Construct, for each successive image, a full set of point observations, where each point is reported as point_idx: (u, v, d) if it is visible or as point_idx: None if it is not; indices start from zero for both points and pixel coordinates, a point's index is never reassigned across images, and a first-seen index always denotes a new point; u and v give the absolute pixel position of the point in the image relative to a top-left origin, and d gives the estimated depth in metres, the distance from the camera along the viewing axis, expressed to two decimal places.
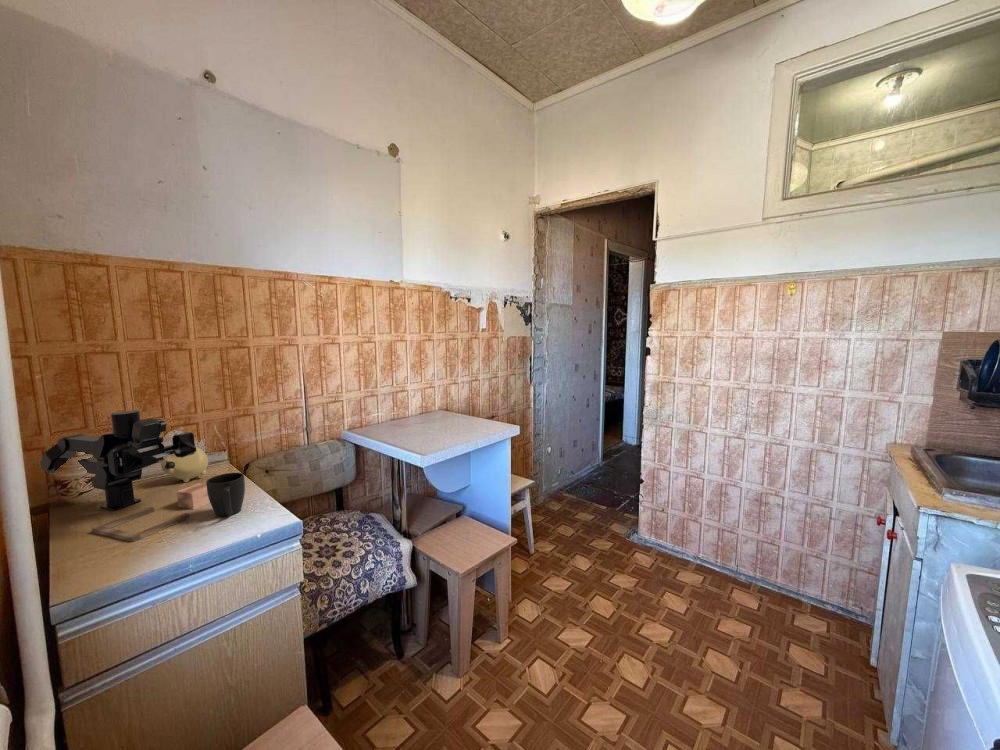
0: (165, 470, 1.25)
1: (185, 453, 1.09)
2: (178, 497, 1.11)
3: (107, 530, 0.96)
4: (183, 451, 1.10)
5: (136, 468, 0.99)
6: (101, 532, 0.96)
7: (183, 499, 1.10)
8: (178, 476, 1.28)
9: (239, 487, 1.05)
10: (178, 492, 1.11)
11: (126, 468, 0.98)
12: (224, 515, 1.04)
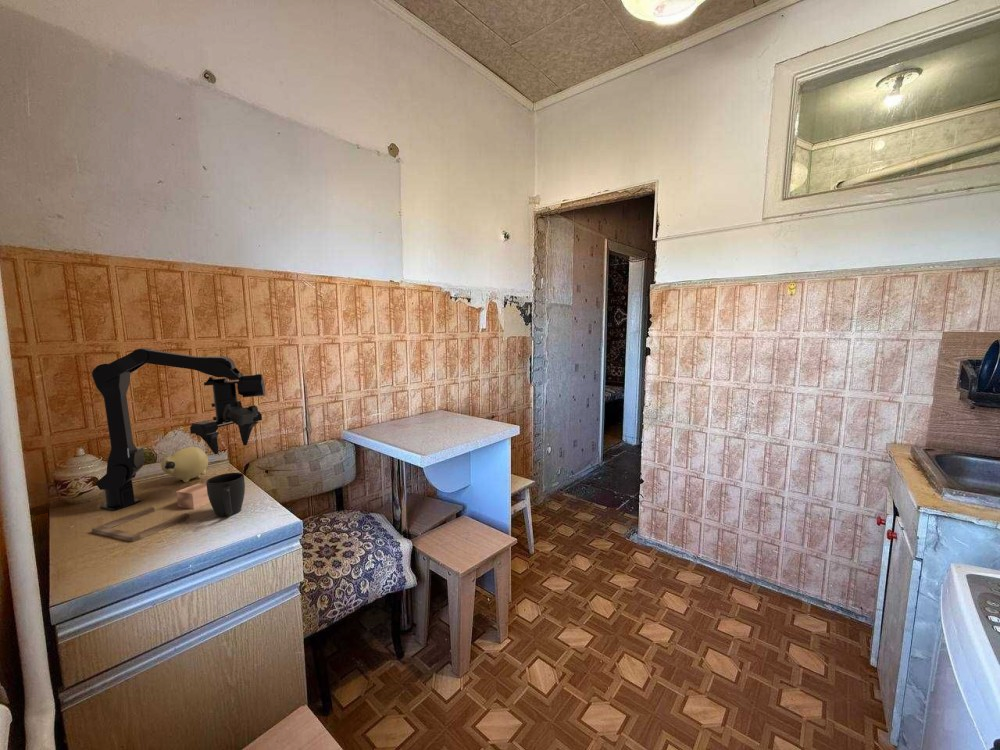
0: (165, 470, 1.25)
1: (240, 431, 1.27)
2: (178, 497, 1.11)
3: (107, 530, 0.96)
4: (241, 428, 1.27)
5: (203, 438, 1.17)
6: (101, 532, 0.96)
7: (183, 499, 1.10)
8: (178, 476, 1.28)
9: (239, 487, 1.05)
10: (178, 492, 1.11)
11: None
12: (224, 515, 1.04)
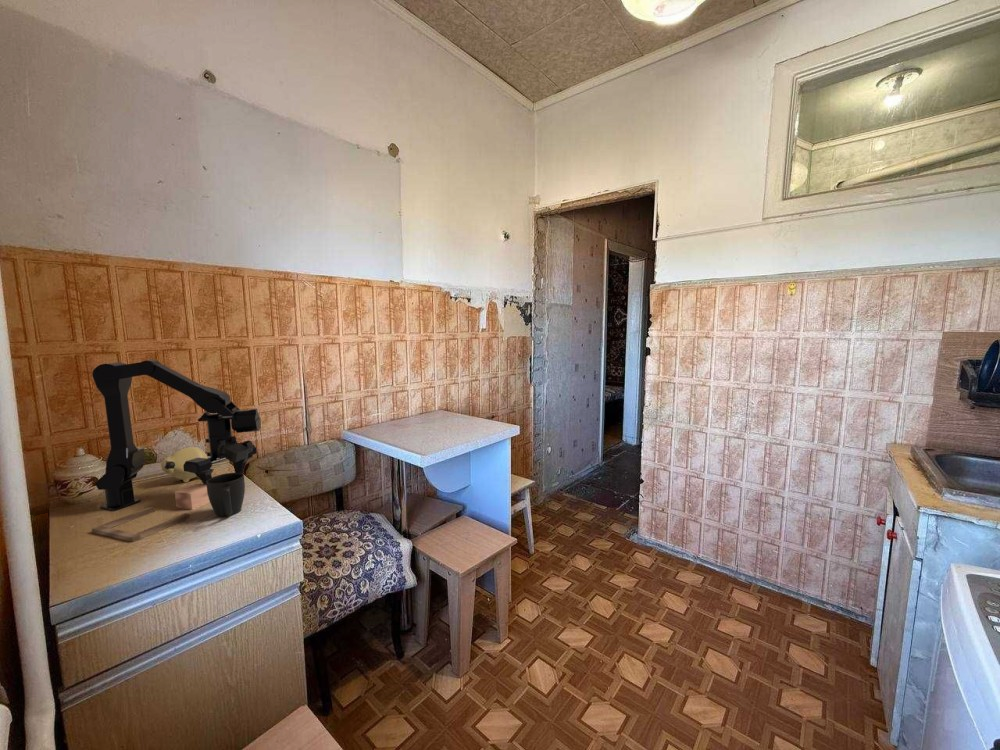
0: (165, 470, 1.25)
1: (234, 465, 1.25)
2: (176, 497, 1.11)
3: (107, 530, 0.96)
4: (235, 462, 1.25)
5: (198, 475, 1.15)
6: (101, 532, 0.96)
7: (182, 499, 1.10)
8: (178, 476, 1.28)
9: (239, 487, 1.05)
10: (176, 492, 1.10)
11: None
12: (224, 515, 1.04)
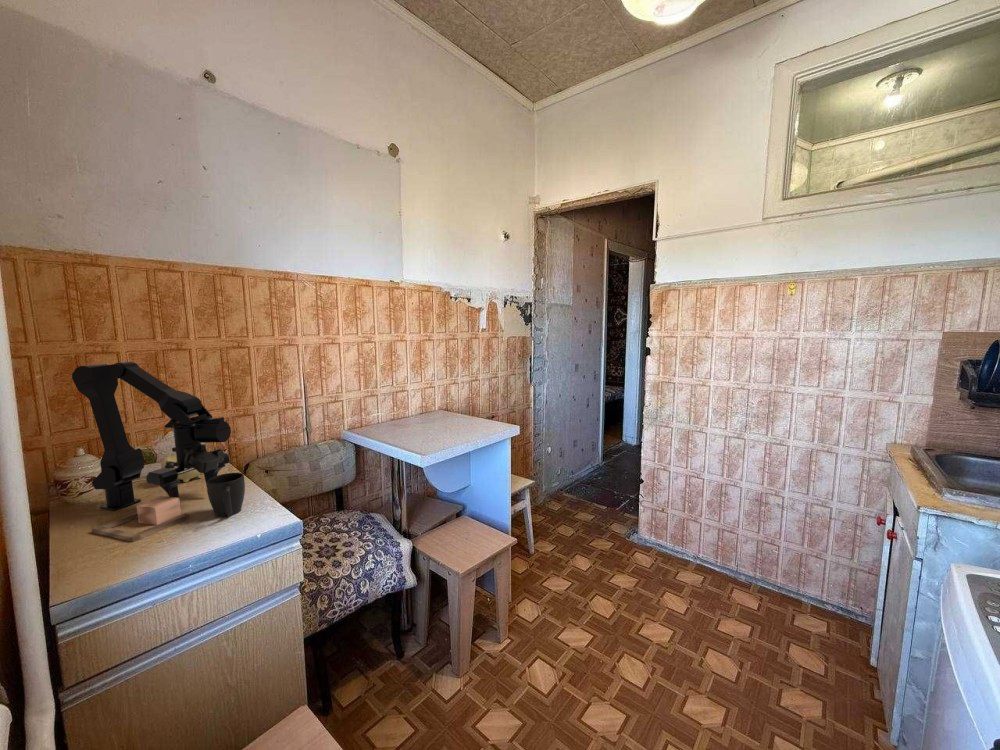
0: None
1: (205, 475, 1.17)
2: (139, 512, 1.02)
3: (107, 530, 0.96)
4: (206, 472, 1.17)
5: (163, 487, 1.07)
6: (101, 532, 0.96)
7: (145, 514, 1.01)
8: (178, 476, 1.28)
9: (239, 487, 1.05)
10: (138, 506, 1.01)
11: None
12: (224, 515, 1.04)
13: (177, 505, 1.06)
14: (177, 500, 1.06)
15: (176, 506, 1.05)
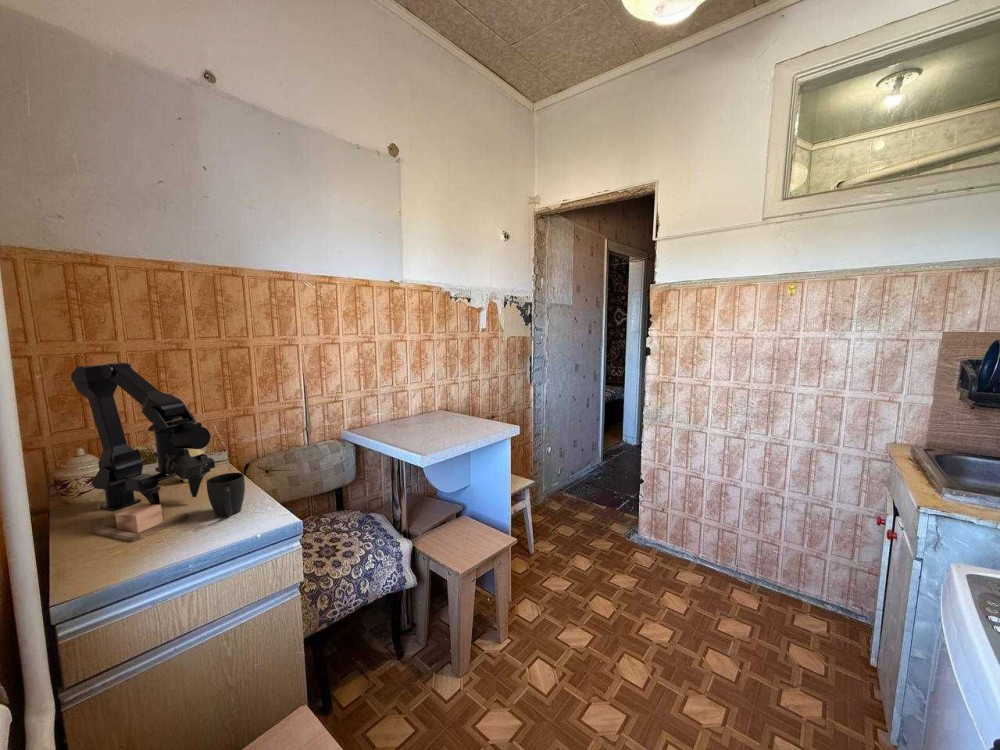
0: None
1: (189, 480, 1.13)
2: (118, 520, 0.97)
3: (107, 530, 0.96)
4: (191, 477, 1.13)
5: (143, 494, 1.03)
6: (101, 532, 0.96)
7: (125, 522, 0.97)
8: (178, 476, 1.28)
9: (239, 487, 1.05)
10: (117, 515, 0.97)
11: None
12: (224, 515, 1.04)
13: (159, 512, 1.01)
14: (159, 507, 1.01)
15: (158, 513, 1.01)
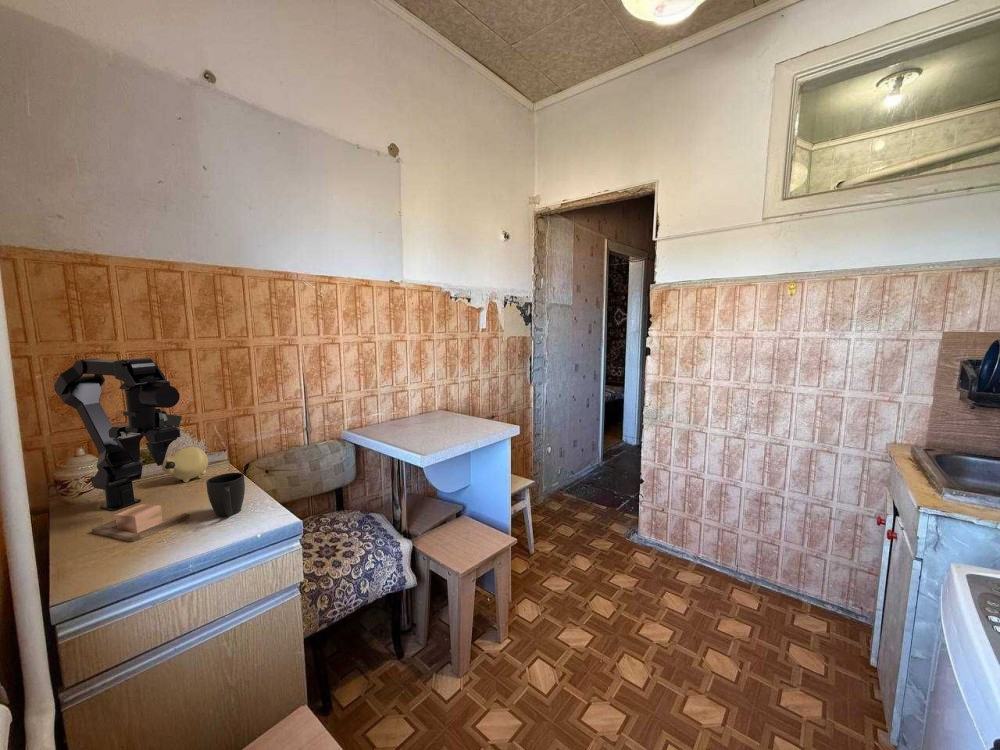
0: (165, 470, 1.25)
1: (127, 447, 1.07)
2: (118, 521, 0.97)
3: (107, 530, 0.96)
4: (129, 444, 1.08)
5: (154, 449, 1.03)
6: (101, 532, 0.96)
7: (124, 523, 0.97)
8: (178, 476, 1.28)
9: (239, 487, 1.05)
10: (117, 516, 0.97)
11: None
12: (224, 515, 1.04)
13: (159, 513, 1.01)
14: (159, 508, 1.01)
15: (158, 514, 1.01)
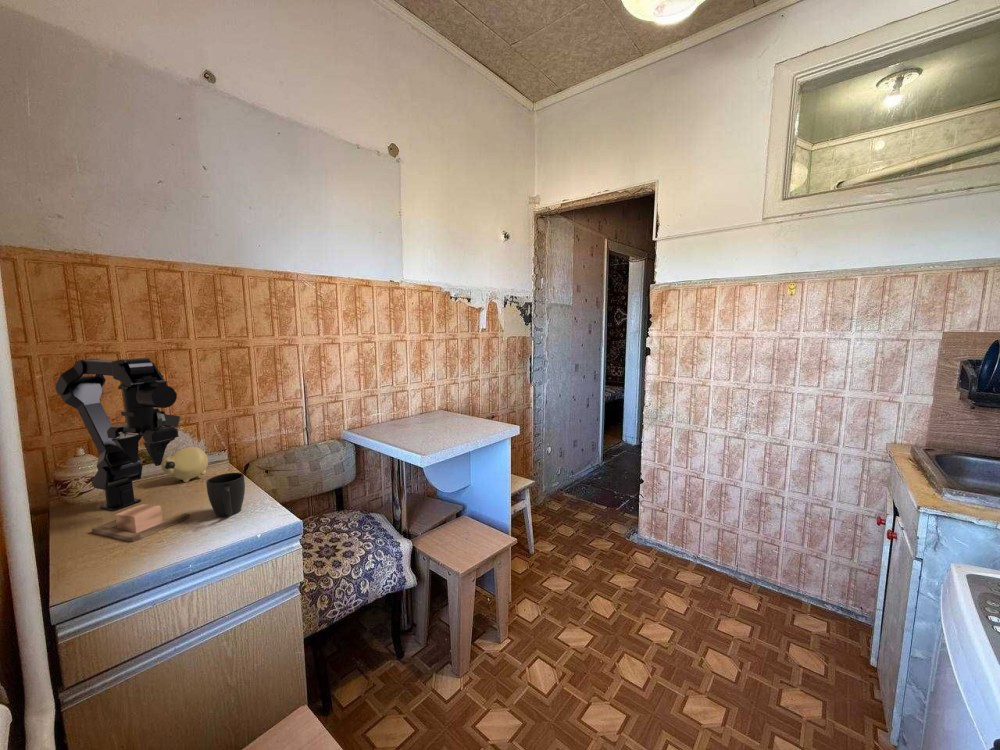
0: (165, 470, 1.25)
1: (126, 447, 1.07)
2: (118, 521, 0.97)
3: (107, 530, 0.96)
4: (127, 444, 1.07)
5: (152, 449, 1.03)
6: (101, 532, 0.96)
7: (124, 523, 0.97)
8: (178, 476, 1.28)
9: (239, 487, 1.05)
10: (117, 515, 0.97)
11: None
12: (224, 515, 1.04)
13: (158, 514, 1.01)
14: (159, 508, 1.01)
15: (157, 515, 1.01)
